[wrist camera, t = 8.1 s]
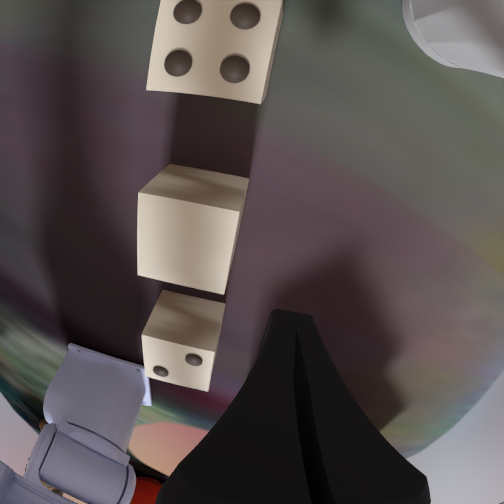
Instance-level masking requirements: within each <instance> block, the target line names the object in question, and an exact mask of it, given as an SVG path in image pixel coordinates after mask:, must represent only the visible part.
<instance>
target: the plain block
mask: <svg viewBox="0 0 504 504" xmlns="http://www.w3.org/2000/svg"><path fill="white" fill-rule="evenodd" d="M248 183H249V178H244V177H239V176H234V175H229V174H224V173H219V172H214V171H208V170H203V169H197V168H192V167H186V166H180V165H174V164H169V165H168V166H167V167H165V168H164V169H163V170H162V171H161V172H160V173H159V174H158V175H157V176H155V177H154V178H153V179H152V180H151V181H150V182H149V183H148V184H147V185H146V186H145V187H144V188H142V189H141V190H140V191H139V192H138V220H137V268H138V275H140V276H144V277H148V278H152V279H156V280H161V281H165V282H169V283H174V284H178V285H182V286H187V287H191V288H196V289H200V290H205V291H209V292H214V293H219V294H223V295H224V293H225V289H226V285H227V281H228V276H229V272H230V268H231V264H232V260H233V256H234V252H235V248H236V243H237V237H238V232H239V227H240V222H241V217H242V212H243V207H244V202H245V197H246V192H247V187H248Z"/></svg>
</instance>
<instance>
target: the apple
mask: <svg viewBox="0 0 504 504" xmlns="http://www.w3.org/2000/svg"><path fill="white" fill-rule="evenodd" d="M161 488H162V485H161V483H160V482H159V481H158V480H156V479H153V478H149V477H142V476H141V477H136V486H135V490H134V494H133V497H132V499H131V501H130V503H129V504H155V501H156V497H157V495H158V493H159V491H160V489H161Z"/></svg>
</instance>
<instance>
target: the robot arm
mask: <svg viewBox="0 0 504 504" xmlns="http://www.w3.org/2000/svg"><path fill="white" fill-rule="evenodd" d="M68 348H69V351H68V353H67V355H66V357H65V358H64V360H63V362H62V364H61V365H60V367H59V369H58V371H57V372H56V374H55V376H54V378H53V380H52V382H51V383H50V385H49V387H48V389H47V392H46V395H45V399H44V404H43V411H44V416H45V419H46V421H47V422H48V423H49V424H45V425H44V427H43V429H42V431H41V433H40V435H39V437H38V440H37V442H36V444H35V446H34V448H33V451H32V453H31V455H30V458H29V460H28V463H27V466H26V467H27V468H26V471H25V473H24V476H23V477H22V476H20V475H18V474H17V473H15V472H14V471H13V470H12V469H11V468H10V467H9V466H7V465H6V464H5V463H3V462H2V461H0V504H77V503H75V502H73V501H71V500H69V499H67V498H65V497H63V496H61V495H59V494H57V493H55V492H53V491H51V490H50V489H48V488H46V487H45V486H43V484H42V483H41V481H40V480H42V481H44V482H46V483H47V484H49V485H51V486H53V487H55V488H57V489H58V490H60V491H62V492H64V493H66V494H68V495H71V496H72V497H74V498H77V499H79V500H81V501H83V502H85V503H87V504H129V503H130V501H131V499H132V497H133V494H134V490H135V486H136V475H135V472H134V469H133V467H132V465H130V464H128V462H129V459H130V456H129V455H127V454H126V451H127V447H128V444H129V441H130V438H131V435H132V432H133V429H134V426H135V423H136V420H137V417H138V414H139V411H140V408H141V405H142V404H143V405H146V406H151V405H152V397H151V388H150V379H149V377H147V376H145V367H144V366H142V365H139V364H135V363H132V362H128V361H125V360H121V359H118V358H115V357H112V356H109V355H105V354H102V353H99V352H96V351H93V350H90V349H87V348H84V347H81V346H79V345H76V344H73V343H69V345H68ZM430 503H431V499H430V492H429V486H428V482H427V477H426V476H425V475H424V474H423V473H421V472H420V471H419V470H418V469H416V468H415V467H414V466H413V465H412V464H411V463H409V462H408V461H407V460H406V459H405V458H404V457H403V456H402V455H401V454H400V453H399V452H398V451H397V450H396V449H395V448H394V447H393V446H392V445H391V444H390V443H389V442H388V441H387V440H386V439H385V438H384V437H383V436H382V434H381V433H380V432H379V431H378V430H377V429H376V427H375V426H374V425H373V424H372V423H371V422H370V420H369V419H368V418H367V416H366V415H365V414H364V412H363V411H362V410H361V408H360V407H359V405H358V404H357V402H356V401H355V399H354V398H353V396H352V395H351V393H350V392H349V390H348V388H347V387H346V385H345V383H344V382H343V380H342V378H341V376H340V375H339V373H338V371H337V369H336V367H335V365H334V363H333V361H332V360H331V358H330V356H329V354H328V352H327V350H326V348H325V345H324V343H323V341H322V339H321V337H320V335H319V332H318V330H317V328H316V325H315V323H314V321H313V318H312V317H311V315H307V314H301V313H296V312H290V311H284V310H279V309H274V310H272V311H271V314H270V317H269V320H268V323H267V327H266V330H265V333H264V336H263V339H262V342H261V346H260V352H259V357H258V359H257V361H256V363H255V365H254V366H253V368H252V370H251V372H250V374H249V376H248V378H247V379H246V381H245V383H244V384H243V386H242V388H241V389H240V391H239V392H238V394H237V396H236V397H235V398H234V400H233V401H232V403H231V404H230V406H229V407H228V408H227V410H226V411H225V413H224V414H223V415H222V417H221V418H220V419H219V420H218V422H217V423H216V424H215V425H214V426H213V428H212V429H211V430H210V431H209V432H208V434H207V435H206V436H205V437H204V438H203V439H202V440H201V442H200V443H199V444H198V445H197V446H196V447H195V448H194V449H193V450H192V451H191V452H190V453H189V454H188V455H187V456H186V457H185V458H184V459H183V460H182V461H181V462H180V463H179V464H178V466H177V467H176V468H175V470H174V471H173V473H172V474H171V475H170V477H169V478H168V479H167V481H166V482H165V483H164V485H163V486H162V488H161V489H160V491H159V493H158V495H157V497H156V501H155V504H430ZM500 504H504V502H502V503H500Z"/></svg>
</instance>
